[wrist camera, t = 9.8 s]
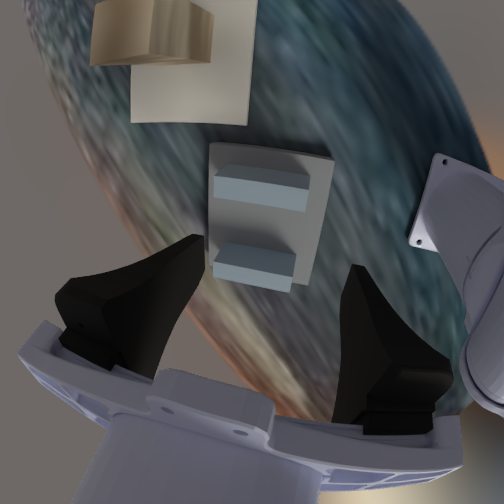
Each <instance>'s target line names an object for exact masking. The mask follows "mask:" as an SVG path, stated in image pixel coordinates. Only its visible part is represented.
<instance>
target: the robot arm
mask: <svg viewBox="0 0 504 504" xmlns="http://www.w3.org/2000/svg"><path fill="white" fill-rule="evenodd" d="M444 159H446V163H445V164H443V163H442V161H443V160H444ZM417 240H421V241H420V242H418V243H417ZM408 242H409V244H410V245H411V246H415V247H419V248H423V249H427V250H431V251H436V252H438V253H439V254H440V256H441V258H442V260H443V262H444V264H445V265H446V267H447V269H448V271H449V273H450V275H451V277H452V279H453V281H454V283H455V285H456V287H457V289H458V291H459V293H460V296H461V298H462V300H463V302H464V304H465V307H466V311H467V312H466V317H465V320H464V323H465V325H466V328H467V331H468V334H469V335H470V336H469V337H468V338H467V340H466V342H465V343H464V345H463V347H462V350H461V353H460V372H461V376H462V379H463V382H464V384H465V387H466V388H467V390H468V392H469V393H470V395H471V396H472V397H473V398H474V400H475V401H476V402H477V403H479V404H480V405H481V406H482V407H484V408H485V409H487V410H490V411H492V412H494V413H497V414H499V415H500V416H502V417H503V418H504V181H503V180H501V179H499V178H497V177H495V176H493V175H491V174H489V173H487V172H485V171H482V170H480V169H478V168H476V167H473V166H471V165H469V164H466V163H464V162H461V161H459V160H456V159H454V158H451V157H449V156H446V155H443V154H441V153H436V154H435V155H434V156H433V159H432V163H431V167H430V171H429V175H428V178H427V182H426V185H425V189H424V192H423V195H422V199H421V202H420V205H419V208H418V211H417V214H416V217H415V220H414V223H413V226H412V229H411V231H410V234H409V237H408ZM204 271H205V252H204V236H202V235H197V234H191V235H189V236H187V237H185V238H183V239H182V240H180V241H178V242H176V243H174V244H172V245H171V246H169V247H167V248H165V249H163V250H161V251H159V252H157V253H155V254H153V255H151V256H149V257H147V258H145V259H143V260H141V261H138V262H136V263H133V264H131V265H128V266H125V267H122V268H119V269H116V270H113V271H109V272H105V273H101V274H96V275H91V276H84V277H77V278H71V279H70V280H69V281H68V282H67V283H66V284H65V285H64V286H63V287H62V288H61V289H60V290H59V291H58V292H57V293H56V294H55V303H56V306H57V309H58V311H59V313H60V315H61V317H62V319H63V321H64V323H65V325H66V327H67V328H66V329H65V331H64V332H63V331H62V330H61V329H60V328H59V327H57V326H55V325H54V324H52V323H50V322H49V321H47V320H44V321H43V322H42V323H41V324H40V326H39V327H38V328H37V329H36V330H35V332H34V333H33V334H32V335H31V336H30V338H29V339H28V340H27V341H26V343H25V344H24V345H23V346H22V348H21V349H20V351H19V352H18V353H17V355H18V357H19V358H20V360H21V361H22V362H23V363H24V365H25V366H26V367H27V368H28V369H29V370H30V372H31V373H32V374H33V376H34V377H35V378H36V379H37V380H38V381H39V382H40V383H41V384H42V385H43V386H44V387H46V388H47V389H48V390H50V391H51V392H52V393H54V394H55V395H56V396H58V397H59V398H61V399H62V400H63V401H65V402H66V403H68V404H69V405H70V406H72V407H73V408H75V409H76V410H78V411H79V412H80V413H82V414H84V415H85V416H86V417H89V418H90V419H91V420H93V421H94V422H96V423H97V424H99V425H101V426H102V427H104V428H106V429H107V432H106V434H105V435H104V437H103V439H102V441H101V443H100V445H99V447H98V449H97V451H96V453H95V455H94V457H93V459H92V461H91V463H90V465H89V467H88V469H87V471H86V473H85V475H84V477H83V479H82V481H81V483H80V485H79V487H78V489H77V491H76V493H75V495H74V497H73V500H72V502H71V504H318V500H319V494H320V491H359V490H372V489H383V488H391V487H399V486H406V485H413V484H420V483H425V482H430V481H432V480H435V479H437V478H439V477H441V476H444V475H446V474H448V473H450V472H452V471H454V470H456V469H458V468H460V467H462V466H463V465H464V464H463V449H462V438H461V429H460V421H459V416H457V415H455V416H442V417H437V418H434V419H432V413H433V412H434V411H435V402H436V401H437V400H438V399H439V398H440V397H442V396H443V395H444V394H445V393H446V392H447V391H448V389H449V388H450V387H451V386H452V383H453V381H454V377H453V372H452V368H451V364H450V361H449V359H448V358H446V357H445V356H443V355H442V354H440V353H439V352H437V351H436V350H435V349H433V348H432V347H431V346H430V345H428V344H427V343H426V342H425V341H423V340H422V339H421V338H420V337H419V336H418V335H417V334H416V333H415V332H414V331H413V330H412V329H411V328H409V326H408V325H407V324H406V323H405V322H404V321H403V320H402V319H401V318H400V317H399V315H398V314H397V313H396V312H395V311H394V309H393V308H392V307H391V305H390V304H389V303H388V301H387V300H386V299H385V297H384V296H383V294H382V293H381V291H380V290H379V288H378V287H377V285H376V284H375V282H374V281H373V279H372V277H371V276H370V274H369V273H368V271H367V270H366V268H365V267H364V266H360V265H355V264H352V266H351V269H350V272H349V275H348V278H347V281H346V283H345V286H344V289H343V292H342V295H341V301H340V335H341V365H340V374H339V382H338V389H337V396H336V402H335V407H334V413H333V417H332V422H331V423H328V422H320V421H312V420H305V419H298V418H292V417H286V416H280V415H275V412H276V408H275V404H274V402H273V401H272V400H271V399H269V398H268V397H267V396H265V395H264V394H262V393H259V392H256V391H253V390H250V389H247V388H243V387H238V386H234V385H230V384H226V383H223V382H219V381H215V380H212V379H208V378H205V377H201V376H198V375H195V374H191V373H188V372H185V371H182V370H176V369H171V368H169V369H164V370H161V371H159V372H158V374H157V376H156V378H155V380H154V376H155V373H156V370H157V367H158V365H159V362H160V359H161V356H162V354H163V351H164V348H165V346H166V344H167V341H168V339H169V336H170V334H171V332H172V330H173V327H174V325H175V323H176V321H177V320H178V318H179V316H180V314H181V313H182V311H183V309H184V308H185V306H186V305H187V303H188V301H189V300H190V298H191V296H192V295H193V293H194V291H195V290H196V288H197V286H198V285H199V282H200V280H201V278H202V275H203V273H204Z"/></svg>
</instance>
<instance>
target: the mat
mask: <svg viewBox="0 0 504 504" xmlns="http://www.w3.org/2000/svg"><path fill="white" fill-rule="evenodd" d="M188 1H190V2H192V3H194V4H196V5H197V6H199V7H201V8H203V9H204V10H206V11H208V12H210V13H211V14H213V15H214V16H215V17H214V27H213V37H212V49H211V61H210V63H200V64H181V65H168V66H152V65H131V123H141V122H196V123H217V124H232V125H244V126H246V125H247V124H248V111H249V98H250V85H251V73H252V61H253V49H254V37H255V26H256V15H257V4H258V0H188Z"/></svg>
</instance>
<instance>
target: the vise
mask: <svg viewBox="0 0 504 504" xmlns="http://www.w3.org/2000/svg"><path fill="white" fill-rule="evenodd" d="M334 164H335V159H334V158H331V157H326V156H321V155H316V154H310V153H304V152H298V151H292V150H285V149H279V148H271V147H264V146H256V145H247V144H238V143H227V142H215V141H214V142H212V143H210V144H209V200H208V223H209V266H213V276H214V277H216V278H221V279H225V280H230V281H235V282H239V283H244V284H249V285H254V286H259V287H264V288H269V289H274V290H279V291H284V292H290V287H291V282H292V283H298V284H303V285H308V283H309V279H310V275H311V271H312V267H313V263H314V259H315V255H316V250H317V246H318V242H319V237H320V233H321V228H322V224H323V219H324V215H325V210H326V205H327V200H328V195H329V190H330V185H331V180H332V174H333V169H334Z"/></svg>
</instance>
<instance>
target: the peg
mask: <svg viewBox="0 0 504 504" xmlns="http://www.w3.org/2000/svg"><path fill="white" fill-rule="evenodd" d="M214 17H215V16H214V15H213V14H211V13H210V12H208V11H206V10H204V9H203V8H201V7H199V6H197V5H196V4H194V3H192V2H190V1H188V0H105V1H103V2H100V3H97V4H96V5H95V12H94V19H93V27H92V37H91V49H90V66H101V65H152V66H168V65H181V64H200V63H210V61H211V49H212V37H213V27H214Z"/></svg>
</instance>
